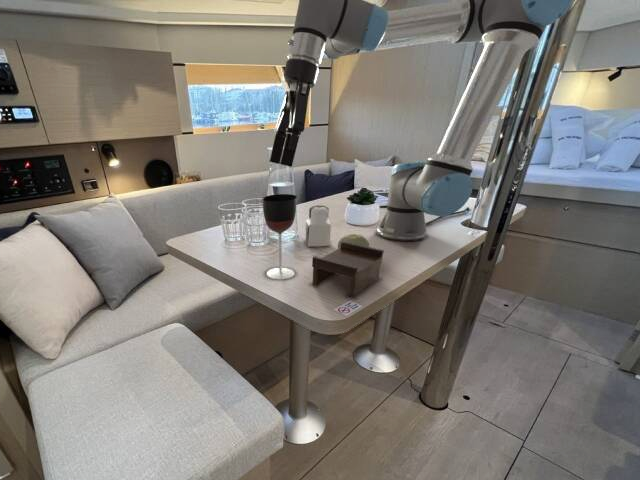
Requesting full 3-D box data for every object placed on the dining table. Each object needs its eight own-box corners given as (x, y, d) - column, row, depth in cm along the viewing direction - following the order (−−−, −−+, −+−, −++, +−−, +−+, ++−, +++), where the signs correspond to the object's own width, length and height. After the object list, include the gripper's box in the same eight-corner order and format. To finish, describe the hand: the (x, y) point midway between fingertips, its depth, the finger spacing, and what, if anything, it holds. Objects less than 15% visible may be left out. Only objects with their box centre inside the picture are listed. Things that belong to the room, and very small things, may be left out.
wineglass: (258, 274, 86) (255, 199, 76) (280, 264, 91) (279, 192, 81) (280, 282, 81) (279, 203, 71) (302, 272, 86) (303, 196, 76)
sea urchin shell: (349, 253, 91) (341, 228, 93) (338, 264, 98) (331, 241, 100) (377, 248, 93) (368, 224, 95) (364, 259, 100) (356, 237, 102)
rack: (340, 267, 87) (342, 241, 84) (379, 277, 80) (383, 250, 77) (311, 285, 79) (312, 257, 75) (352, 298, 72) (355, 268, 68)
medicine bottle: (305, 239, 109) (306, 204, 103) (326, 239, 108) (328, 203, 102) (307, 247, 103) (308, 209, 97) (329, 246, 102) (332, 208, 96)
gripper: (276, 70, 81) (258, 158, 89) (302, 41, 59) (275, 162, 67) (303, 78, 82) (283, 165, 91) (339, 53, 60) (307, 170, 69)
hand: (279, 164), depth 79 cm, fingers open, 13 cm apart
